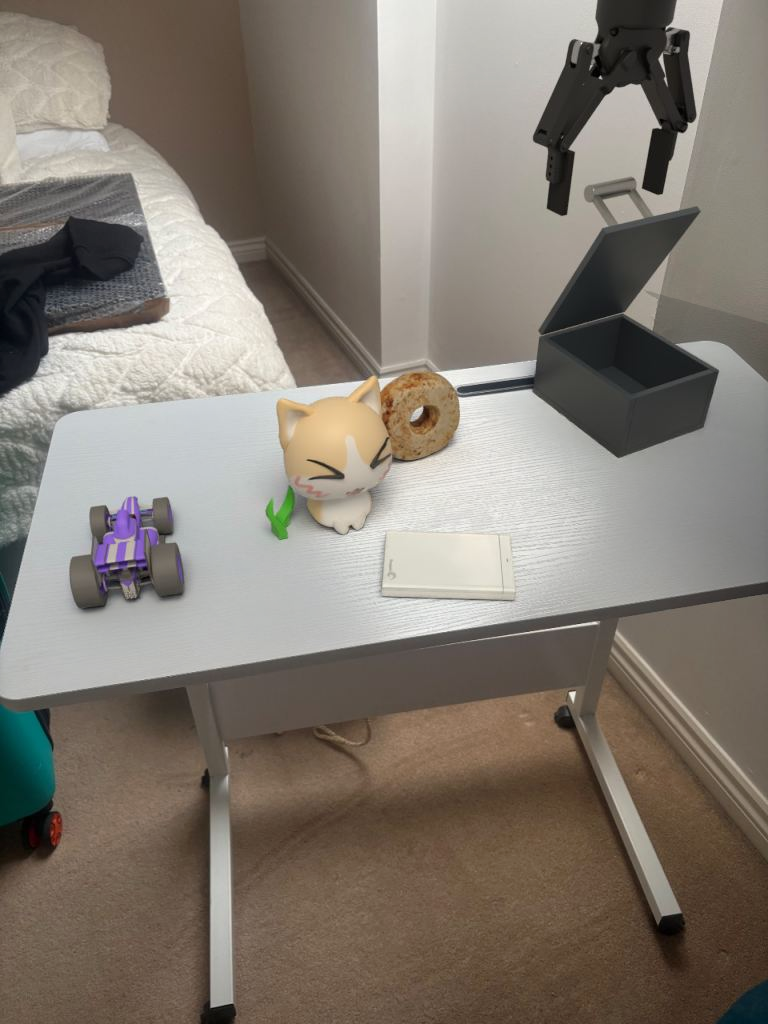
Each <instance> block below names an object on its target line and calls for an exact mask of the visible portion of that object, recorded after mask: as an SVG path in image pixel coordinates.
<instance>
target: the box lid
mask: <svg viewBox="0 0 768 1024" xmlns="http://www.w3.org/2000/svg"><path fill="white" fill-rule="evenodd" d="M627 195H628V197H629V198H630V199H631V201H632V202H633V204H634V205H635V207H636V209H637V210H638V212H639V213H640V214H641V216H642V217H643V218H641V219H635V220H631V221H627V222H623V223H622V222H621V223H619V222H618V220H616V218H615V216H614V215H613V214H612V212H611V210H610V209H609V207H608V206H607V204H606V203H605V201H604V200H608V199H613V198H617V197H622V196H627ZM583 197H584V200H585V201H586V202H587V203H592V204H593V205H594V207H595V208H596V210H597V211H598V213H599V214H600V216H601V217H602V219H603V220H604V222H605V223H606V225H607V226H606V227H602V228H601V229H600V231H599V232H598V234H597V236H596V237H595V239H594V240H593V242H592V244H591V245H590V247H589V248H588V250H587V252H586V253H585V255H584V257H583V258H582V259H581V262H580V263H579V264H578V266H577V268H576V269H575V271H574V272H573V274H572V275H571V277H570V279H569V280H568V282H567V284H566V285H565V287H564V289H563V290H562V292H561V293H560V295H559V296H558V298H557V300H555V301H556V302H555V303H554V304H553V306H552V308H551V309H550V311H549V313H548V314H547V315H546V317H545V319H544V321H542V323H541V325H540V326H539V328H538V333H539V334H540V336H544V335H547V334H550V333H554V332H557V331H561V330H564V329H568V328H572V327H575V326H579V325H582V324H586V323H589V322H593V321H596V320H600V319H604V318H607V317H611V316H614V315H618V314H622V313H623V314H624V313H626V312H627V310H628V308H629V307H630V306H631V305H632V303H633V302H634V301H635V300H636V298H637V296H638V295H639V294H640V293H641V291H643V289H644V287H645V286H646V285H647V283H648V282H649V281H650V280H651V278H652V277H653V276H654V274H656V272H657V270H658V269H659V268H660V266H661V265H662V264H663V262H664V261H665V259H666V258H667V257H668V256H669V254H670V253H671V252H672V250H673V249H674V248H675V246H677V244H678V243H679V241H680V240H681V239H682V238H683V236H684V234H685V233H686V232H687V230H688V229H689V228H690V227H691V226H692V224H693V223H694V221H695V220H696V219H697V217H698V216H699V214H700V213H701V209H700V207H698V206H697V205H696V206H691V207H687V208H683V209H678V210H674V211H669V212H664V213H660V214H657V215H654V214H653V212H652V211H651V209H650V208H649V207H648V205H647V204H646V202H645V201H644V199H643V197H642V196H641V195H640V193H639V192H638V191H637V181H636V178H635V177H634V176H626V177H621V178H617V179H611V180H608V181H602V182H597V183H592V184H588V185H586V186H585V187H584V189H583Z"/></svg>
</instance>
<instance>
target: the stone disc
mask: <svg viewBox="0 0 768 1024" xmlns="http://www.w3.org/2000/svg"><path fill="white" fill-rule="evenodd" d="M380 396H381V407H382V421H383V423H384V425H385V427H386V429H387V432H388V435H389V437H390V443H391V448H392V458H396V459H399V460H403V461H414V460H419V459H422V458H426V457H427V456H430V455H433V454H434V453H437V452H438V451H440V450H441V449H443V448H444V447H446V445H448V443H449V442H450V441H451V440H452V439H453V437H454V436H455V433H456V432H457V430H458V428H459V425H460V419H461V418H460V417H461V409H460V407H461V405H460V400H459V395H458V393H457V390H456V389H455V387H454V386H453V385H452V383H451V382H450V381H449V380H448V379H447V378H446V377H445V376H443V375H442V374H439V373H437V372H435V371H429V370H412V371H408V372H406V373H403V374H401V375H399V376H398V377H396V378H394V379H393V380H391V381H390V382H388V383H387V384H386V385H385V386H384V387H383V388H382V389H381V390H380ZM421 408H422V412H421V414H420V415H418V418H416V419H414V420H412V421H411V418H412V417H413V414H414V413H415V412H416V411H417V410H419V409H421Z"/></svg>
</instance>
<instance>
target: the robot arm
mask: <svg viewBox="0 0 768 1024" xmlns="http://www.w3.org/2000/svg"><path fill="white" fill-rule="evenodd" d="M677 1H678V0H597V1H596V8H595V16H594V17H595V21H596V24H597V34H596V37H595V39H594V41H593V42H590V41H584V40H580V39H576V38H572V39H571V40H570V41H569V44H568V47H567V52H566V58H565V63H564V65H563V68H562V70H561V72H560V75H559V77H558V79H557V82H556V84H555V85H554V88H553V91H552V93H551V95H550V97H549V99H548V101H547V103H546V106H545V108H544V110H543V112H542V114H541V116H540V119H539V121H538V124H537V125H536V128H535V131H534V132H533V135H532V141H533V143H535V144H537V145H540V146H541V147H545V148H546V149H547V158H546V168H545V180H546V181H547V182H548V190H547V201H546V210H547V211H551V212H552V213H554V214H556V215H558V216H560V217H565V216H568V211H569V204H570V203H569V202H570V195H571V188H572V180H573V173H574V172H573V171H574V163H575V157H576V151H574V150H571V149H570V148H571V146H572V145H573V143H574V142H575V141H576V139H577V138H578V136H579V135H580V133H581V132H582V131H583V129H584V128H585V126H586V125H587V123H588V122H589V120H590V119H591V117H592V116H593V115H594V113H595V111H596V110H597V108H598V107H599V106H600V104H601V103H602V101H603V100H604V99H605V97H606V96H608V95H610V94H611V93H613V91H614V89H615V88H619V89H620V88H625V87H627V86H629V85H634V86H639V85H640V87H641V89H642V91H643V94H644V95H645V97H646V100H647V101H648V104H649V106H650V108H651V110H652V112H653V114H654V116H655V119H656V121H657V124H658V125H659V126H660V127H661V128H660V127H654V128H651V133H650V139H649V146H648V151H647V156H646V162H645V168H644V173H643V179H642V183H641V184H642V185H641V189H642V190H644V191H647V192H649V193H651V194H654V195H657V196H661V195H664V190H665V185H666V180H667V175H668V170H669V165H670V162H671V161H672V160H673V157H674V155H675V150H676V144H677V139H678V135H679V133H680V134H685V133H686V132H687V130H688V128H689V124H693V123H694V122H695V121H696V119H697V115H698V113H697V108H696V107H697V106H696V100H695V93H694V87H693V80H692V72H691V66H690V65H691V64H690V58H689V50H690V49H689V48H690V40H691V32H690V31H689V30H687V29H683V28H677V27H674V26H673V27H672V26H670V25H671V24H672V23H673V21H674V19H675V13H676V8H677ZM668 26H669V27H668ZM661 56H662V61H663V67H662V64H661V62H660V60H659V59H660V57H661ZM663 68H664V69H663ZM665 79H666V80H665Z"/></svg>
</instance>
